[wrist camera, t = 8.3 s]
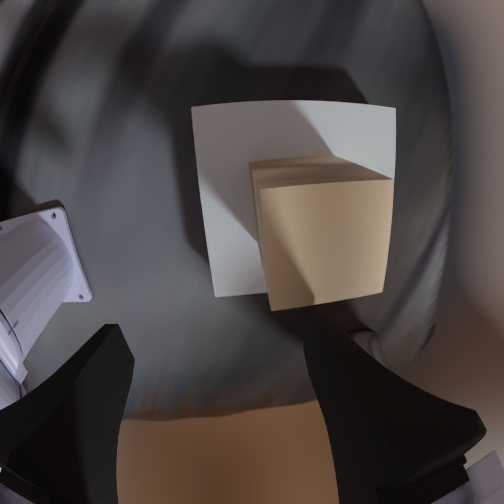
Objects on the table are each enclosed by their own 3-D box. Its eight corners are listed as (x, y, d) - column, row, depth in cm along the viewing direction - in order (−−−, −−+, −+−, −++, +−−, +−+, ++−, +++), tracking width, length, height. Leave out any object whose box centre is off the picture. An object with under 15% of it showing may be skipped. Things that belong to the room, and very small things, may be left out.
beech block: (257, 243, 15) (271, 311, 10) (248, 162, 13) (259, 189, 8) (335, 233, 15) (382, 292, 10) (334, 155, 13) (393, 179, 8)
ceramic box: (217, 268, 20) (215, 297, 17) (199, 110, 15) (191, 107, 12) (361, 255, 20) (381, 278, 17) (368, 108, 15) (395, 108, 12)
